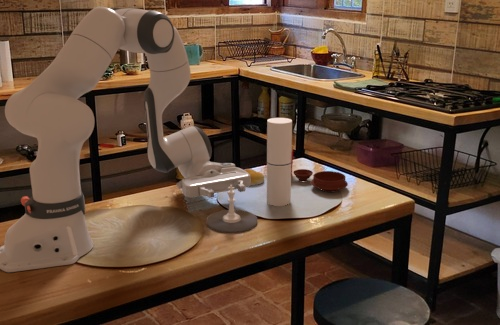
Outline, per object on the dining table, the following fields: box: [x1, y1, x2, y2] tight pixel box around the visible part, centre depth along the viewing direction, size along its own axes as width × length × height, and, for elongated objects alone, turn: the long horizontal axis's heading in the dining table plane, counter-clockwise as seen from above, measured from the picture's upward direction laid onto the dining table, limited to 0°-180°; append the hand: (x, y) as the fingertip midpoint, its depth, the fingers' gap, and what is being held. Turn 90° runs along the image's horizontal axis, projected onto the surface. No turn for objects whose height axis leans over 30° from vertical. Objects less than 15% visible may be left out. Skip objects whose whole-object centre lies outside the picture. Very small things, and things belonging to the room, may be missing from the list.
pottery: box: [292, 168, 349, 193], centre depth 183 cm, size 12×20×4 cm, turn 44°
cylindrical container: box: [266, 117, 293, 207], centre depth 166 cm, size 7×7×25 cm
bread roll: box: [243, 168, 265, 186], centre depth 187 cm, size 8×9×4 cm
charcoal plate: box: [206, 209, 258, 234], centre depth 155 cm, size 14×14×1 cm
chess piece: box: [223, 185, 241, 223], centre depth 154 cm, size 5×5×10 cm
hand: (227, 191), depth 155 cm, fingers open, 8 cm apart
